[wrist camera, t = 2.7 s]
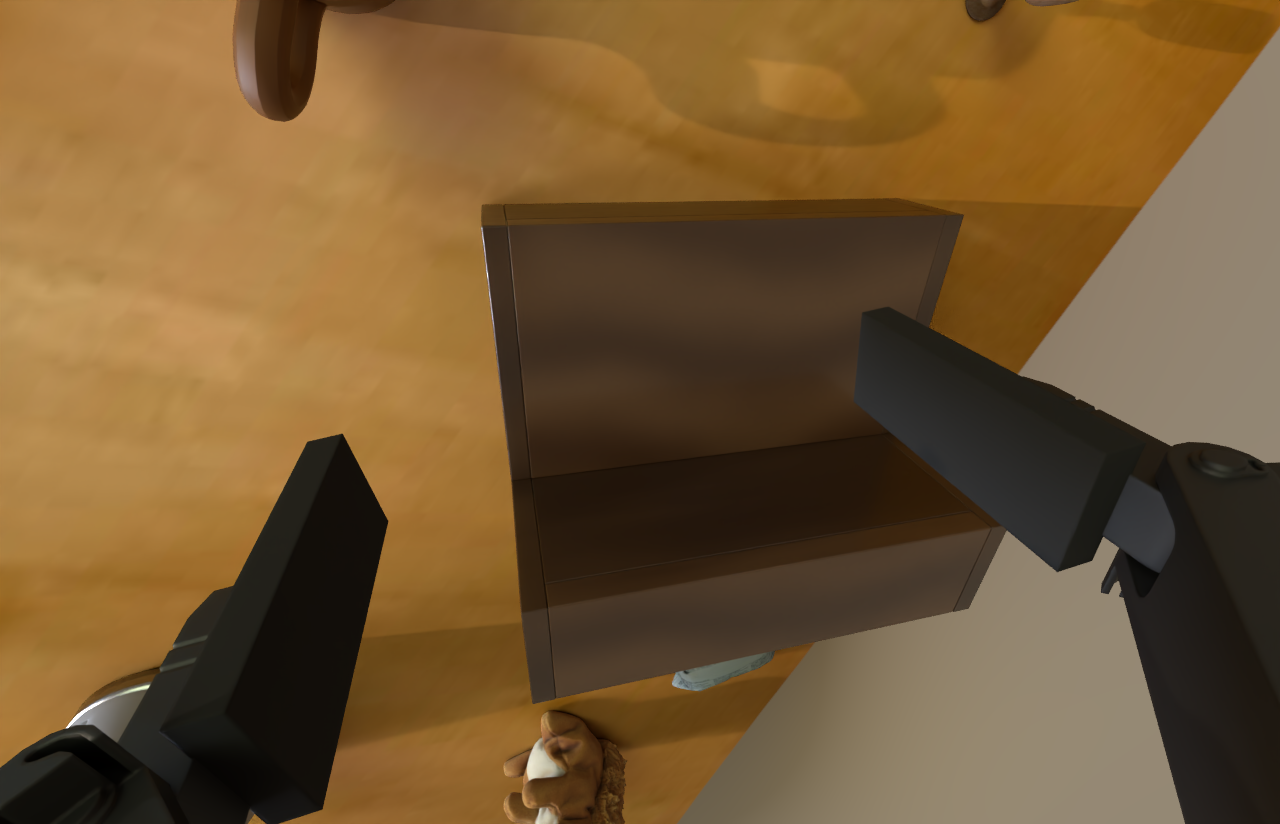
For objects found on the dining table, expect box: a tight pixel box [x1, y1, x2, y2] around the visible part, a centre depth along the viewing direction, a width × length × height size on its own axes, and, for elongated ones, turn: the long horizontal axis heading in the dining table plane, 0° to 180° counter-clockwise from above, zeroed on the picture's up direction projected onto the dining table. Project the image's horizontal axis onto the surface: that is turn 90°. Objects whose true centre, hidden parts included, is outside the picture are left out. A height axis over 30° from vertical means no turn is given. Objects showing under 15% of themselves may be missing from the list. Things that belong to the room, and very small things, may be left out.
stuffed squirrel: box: [504, 710, 627, 824], centre depth 53 cm, size 10×14×13 cm
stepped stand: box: [481, 198, 1006, 704], centre depth 32 cm, size 22×27×16 cm
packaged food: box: [672, 651, 775, 691], centre depth 52 cm, size 9×12×5 cm
